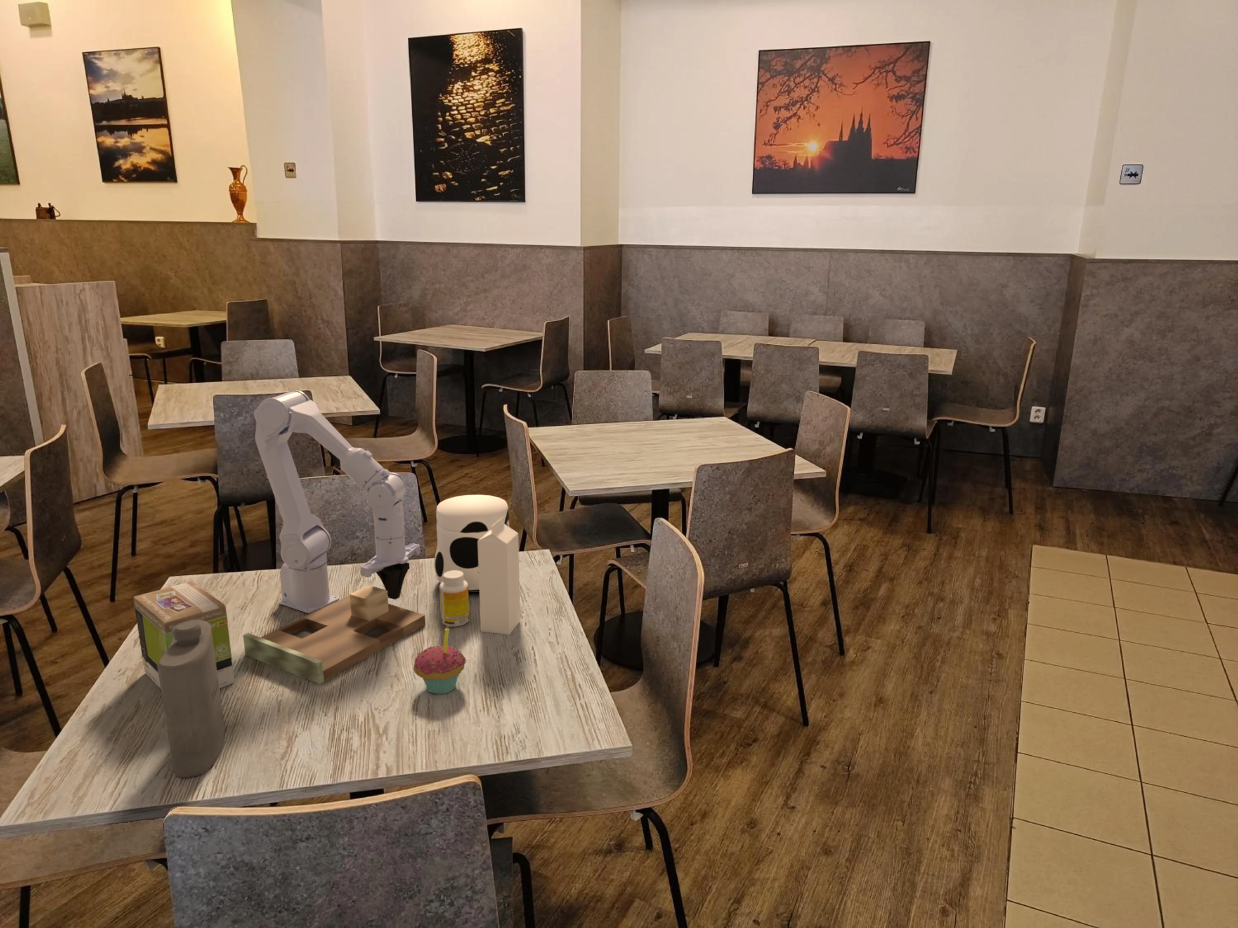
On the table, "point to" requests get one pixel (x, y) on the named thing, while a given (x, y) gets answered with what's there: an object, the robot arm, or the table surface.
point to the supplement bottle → (454, 599)
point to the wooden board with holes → (330, 640)
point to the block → (369, 602)
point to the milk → (499, 579)
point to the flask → (192, 699)
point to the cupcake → (440, 666)
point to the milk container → (465, 533)
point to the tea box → (171, 609)
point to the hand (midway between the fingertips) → (393, 597)
